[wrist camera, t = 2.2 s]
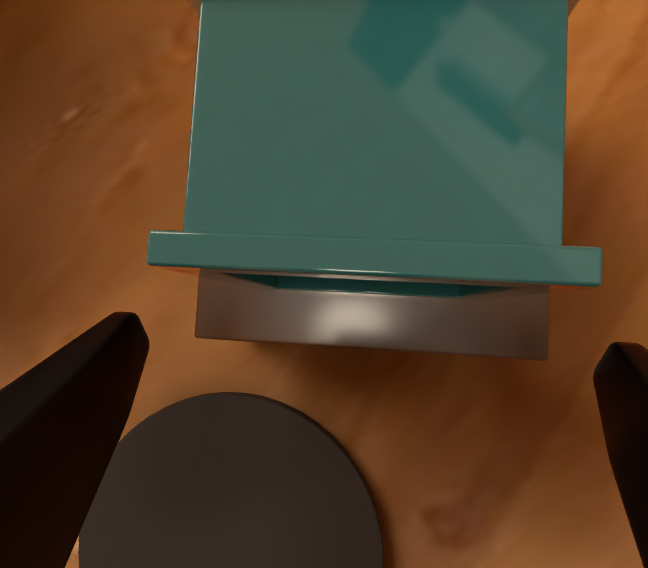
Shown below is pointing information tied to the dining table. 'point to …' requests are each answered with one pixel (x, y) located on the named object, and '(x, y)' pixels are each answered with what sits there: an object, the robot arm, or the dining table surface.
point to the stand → (375, 321)
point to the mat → (231, 493)
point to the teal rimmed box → (379, 149)
